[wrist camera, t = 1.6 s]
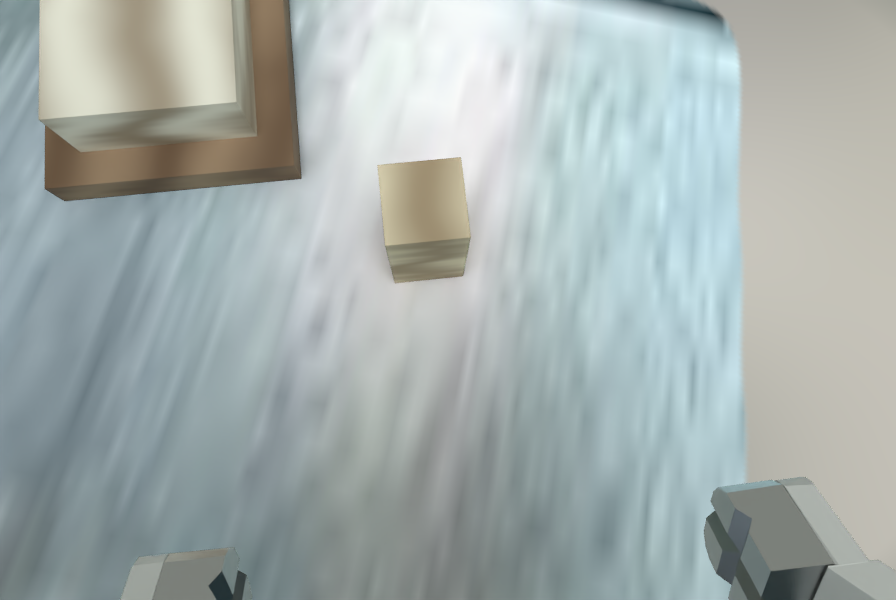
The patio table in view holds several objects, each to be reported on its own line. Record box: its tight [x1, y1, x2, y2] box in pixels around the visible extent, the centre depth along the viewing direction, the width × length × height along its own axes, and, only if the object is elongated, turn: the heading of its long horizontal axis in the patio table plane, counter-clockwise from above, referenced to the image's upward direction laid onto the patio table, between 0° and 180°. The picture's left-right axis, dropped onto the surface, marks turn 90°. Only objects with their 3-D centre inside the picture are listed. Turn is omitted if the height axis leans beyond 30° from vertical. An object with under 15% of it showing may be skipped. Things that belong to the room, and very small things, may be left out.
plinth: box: [39, 0, 301, 201], centre depth 37 cm, size 14×14×6 cm
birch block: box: [378, 157, 471, 283], centre depth 34 cm, size 4×4×8 cm
